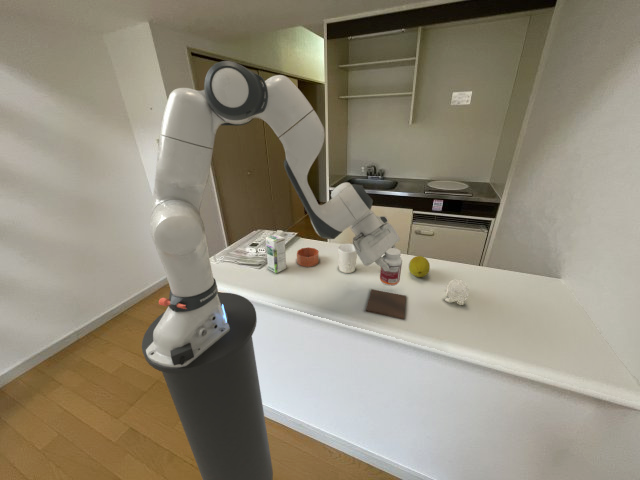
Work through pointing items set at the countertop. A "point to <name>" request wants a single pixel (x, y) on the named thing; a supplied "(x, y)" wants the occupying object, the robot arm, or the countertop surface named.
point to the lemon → (419, 266)
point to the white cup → (347, 258)
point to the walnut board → (386, 304)
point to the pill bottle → (395, 263)
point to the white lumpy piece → (457, 291)
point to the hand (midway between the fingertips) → (393, 264)
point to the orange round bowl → (307, 257)
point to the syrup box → (276, 253)
